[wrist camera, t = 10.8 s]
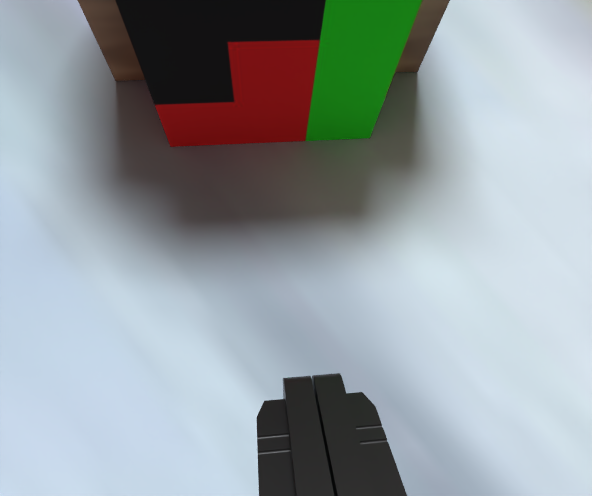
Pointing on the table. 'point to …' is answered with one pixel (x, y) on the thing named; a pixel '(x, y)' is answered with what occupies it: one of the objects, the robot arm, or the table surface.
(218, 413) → the table surface
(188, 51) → the puzzle toy
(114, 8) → the brown wooden box
